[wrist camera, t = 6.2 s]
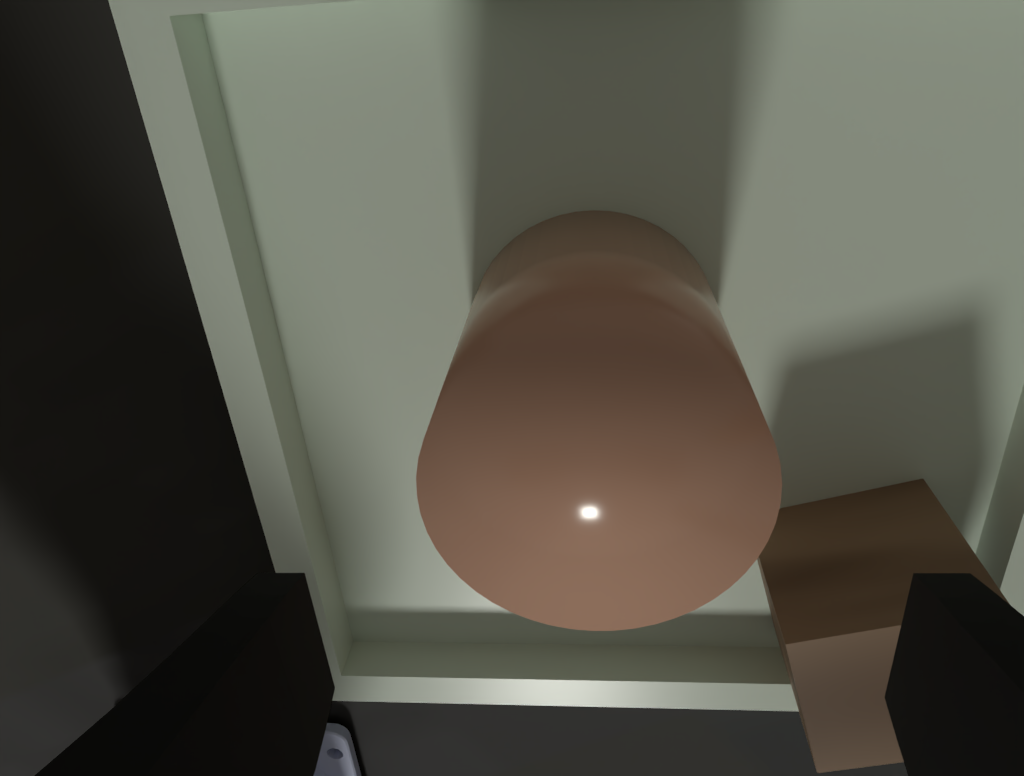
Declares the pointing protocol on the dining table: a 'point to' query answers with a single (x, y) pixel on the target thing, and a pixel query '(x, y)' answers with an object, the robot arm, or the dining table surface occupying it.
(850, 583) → the walnut block
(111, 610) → the dining table surface
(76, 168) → the dining table surface
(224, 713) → the robot arm
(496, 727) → the dining table surface
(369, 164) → the tray
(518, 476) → the tan cylinder
